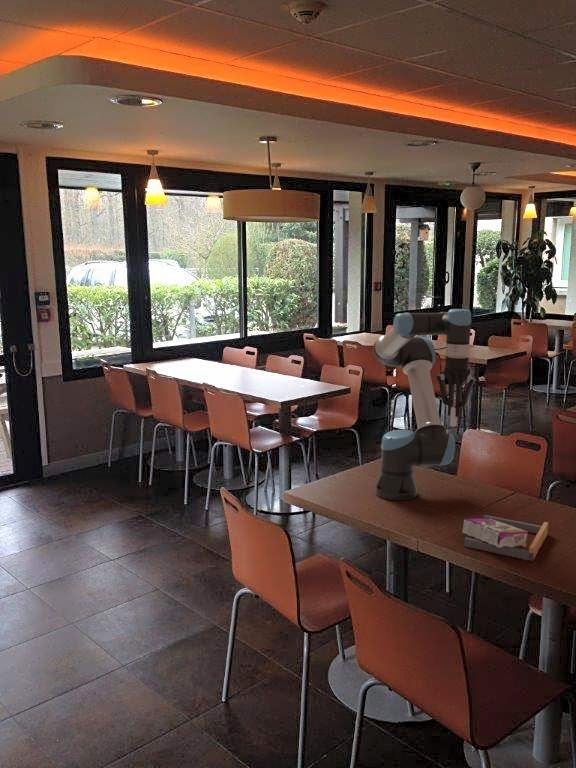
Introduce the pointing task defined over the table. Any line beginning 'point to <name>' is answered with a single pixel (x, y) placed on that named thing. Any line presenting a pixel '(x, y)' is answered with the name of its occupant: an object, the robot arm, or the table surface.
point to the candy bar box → (495, 533)
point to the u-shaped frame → (511, 551)
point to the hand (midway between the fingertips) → (453, 425)
